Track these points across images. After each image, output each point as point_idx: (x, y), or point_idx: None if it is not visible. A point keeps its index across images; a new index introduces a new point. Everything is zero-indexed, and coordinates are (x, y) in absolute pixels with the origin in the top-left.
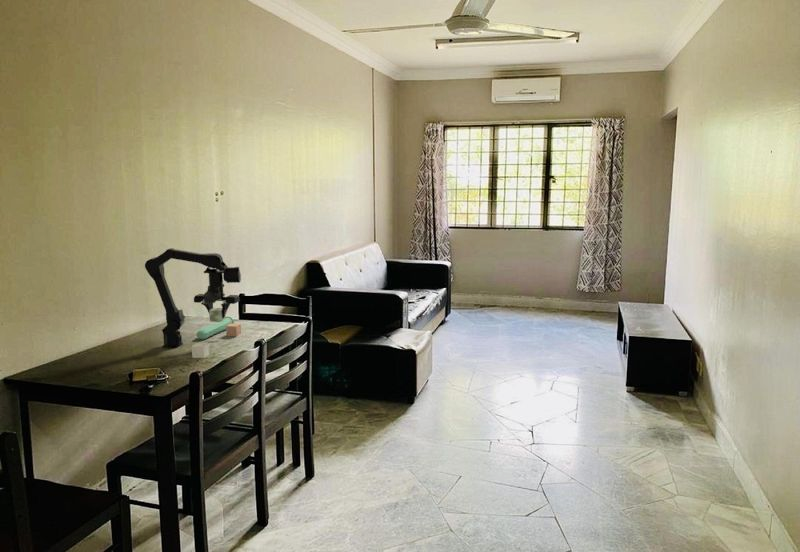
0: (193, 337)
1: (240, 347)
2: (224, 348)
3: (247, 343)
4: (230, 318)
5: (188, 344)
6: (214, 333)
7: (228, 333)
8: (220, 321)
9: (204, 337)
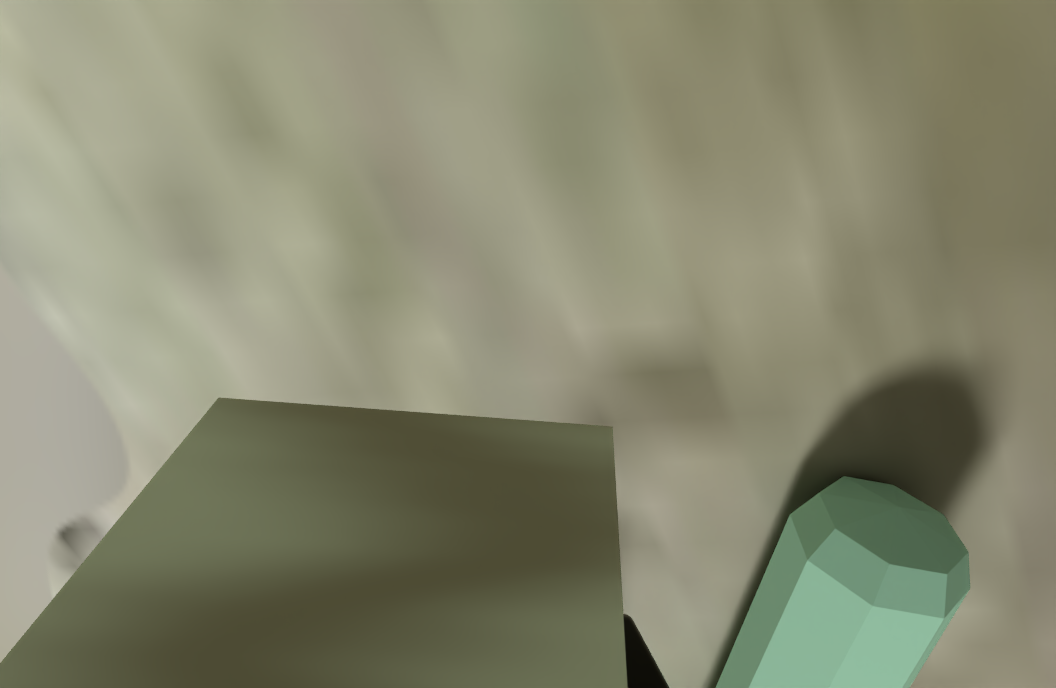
0: (1001, 567)
1: (80, 143)
2: (303, 54)
3: (114, 355)
4: None
5: (1020, 235)
6: (728, 663)
7: None
8: (221, 408)
9: (816, 496)
